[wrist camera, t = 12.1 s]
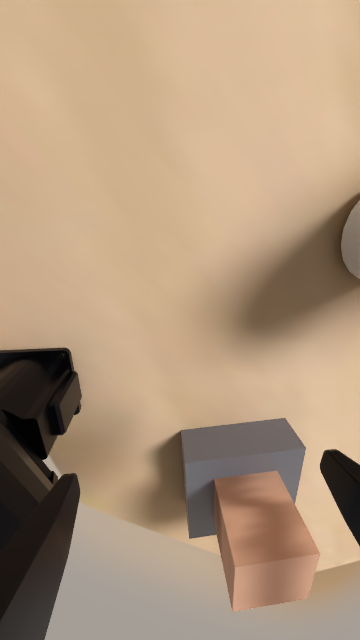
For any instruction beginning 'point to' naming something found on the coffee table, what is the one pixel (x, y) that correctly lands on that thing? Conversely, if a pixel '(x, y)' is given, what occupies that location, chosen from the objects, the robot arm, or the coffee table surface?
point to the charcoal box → (235, 462)
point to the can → (352, 242)
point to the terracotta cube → (262, 541)
